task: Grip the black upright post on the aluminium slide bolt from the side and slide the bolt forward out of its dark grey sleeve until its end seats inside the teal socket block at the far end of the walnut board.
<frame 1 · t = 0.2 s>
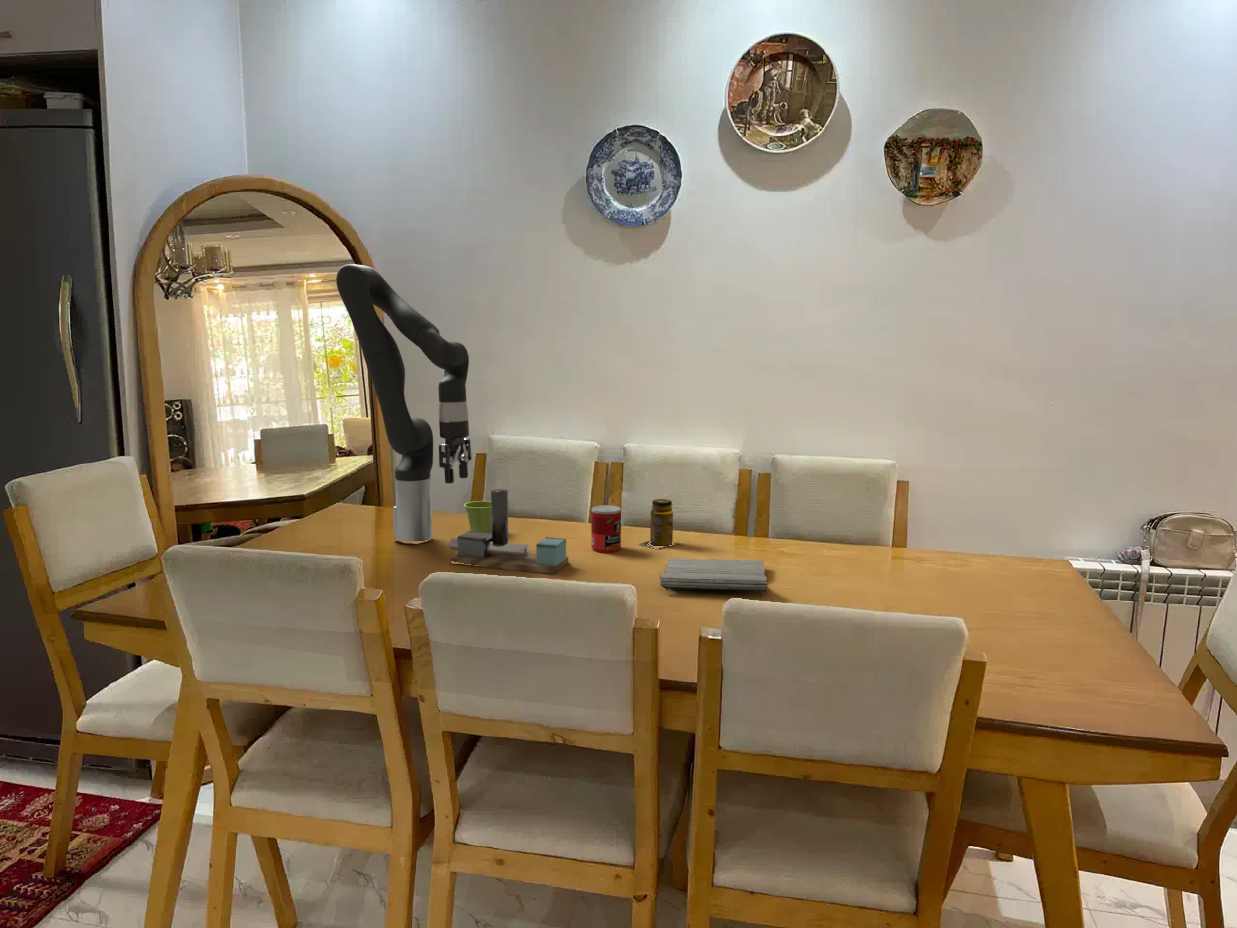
hand: (456, 480, 216), 17 cm above the table, tool pointing down, fingers open, 8 cm apart
slide bolt: (488, 522, 202), point 10 cm above the table, slide at 0.0 cm
condiment: (658, 545, 221), on the table
socket block: (551, 567, 199), resting on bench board
plant pot: (481, 535, 230), on the table
sleeve: (476, 560, 205), resting on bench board
canned food: (606, 549, 216), on the table
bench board: (509, 563, 202), on the table
mat: (714, 583, 190), on the table
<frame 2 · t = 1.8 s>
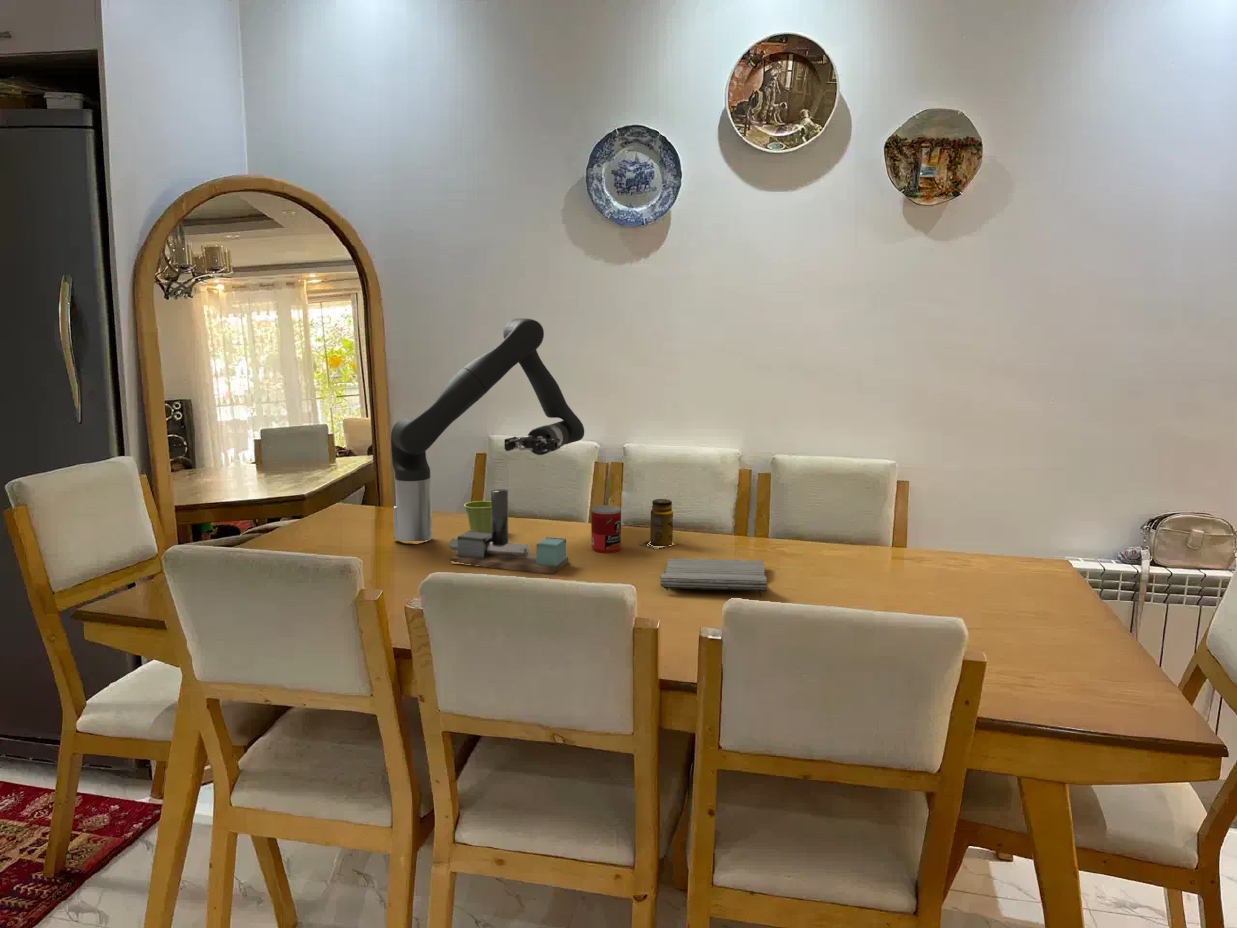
hand: (521, 447, 212), 27 cm above the table, tool horizontal, fingers open, 8 cm apart
nothing on the table moved.
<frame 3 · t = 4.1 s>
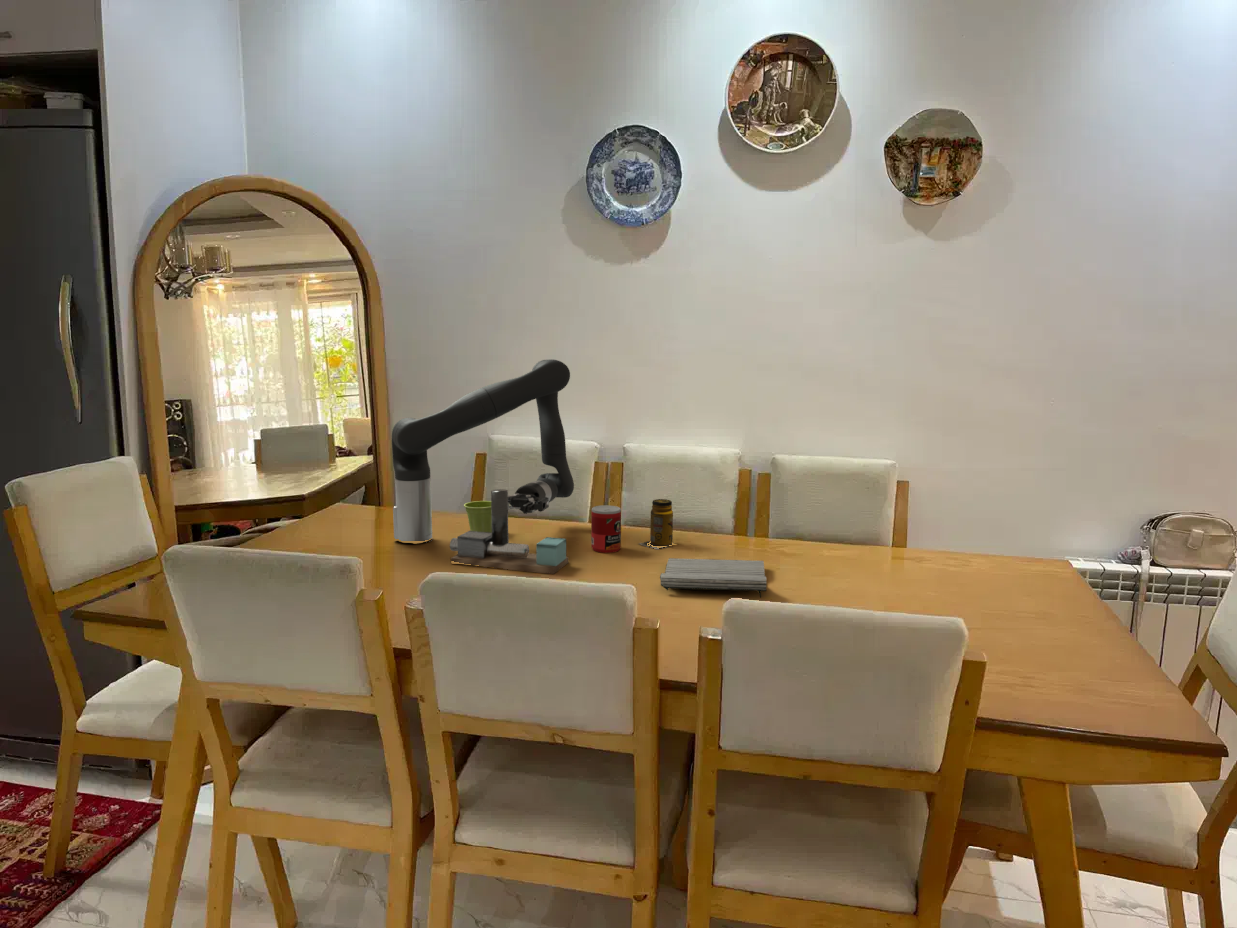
hand: (508, 508, 206), 13 cm above the table, tool horizontal, fingers open, 8 cm apart
nothing on the table moved.
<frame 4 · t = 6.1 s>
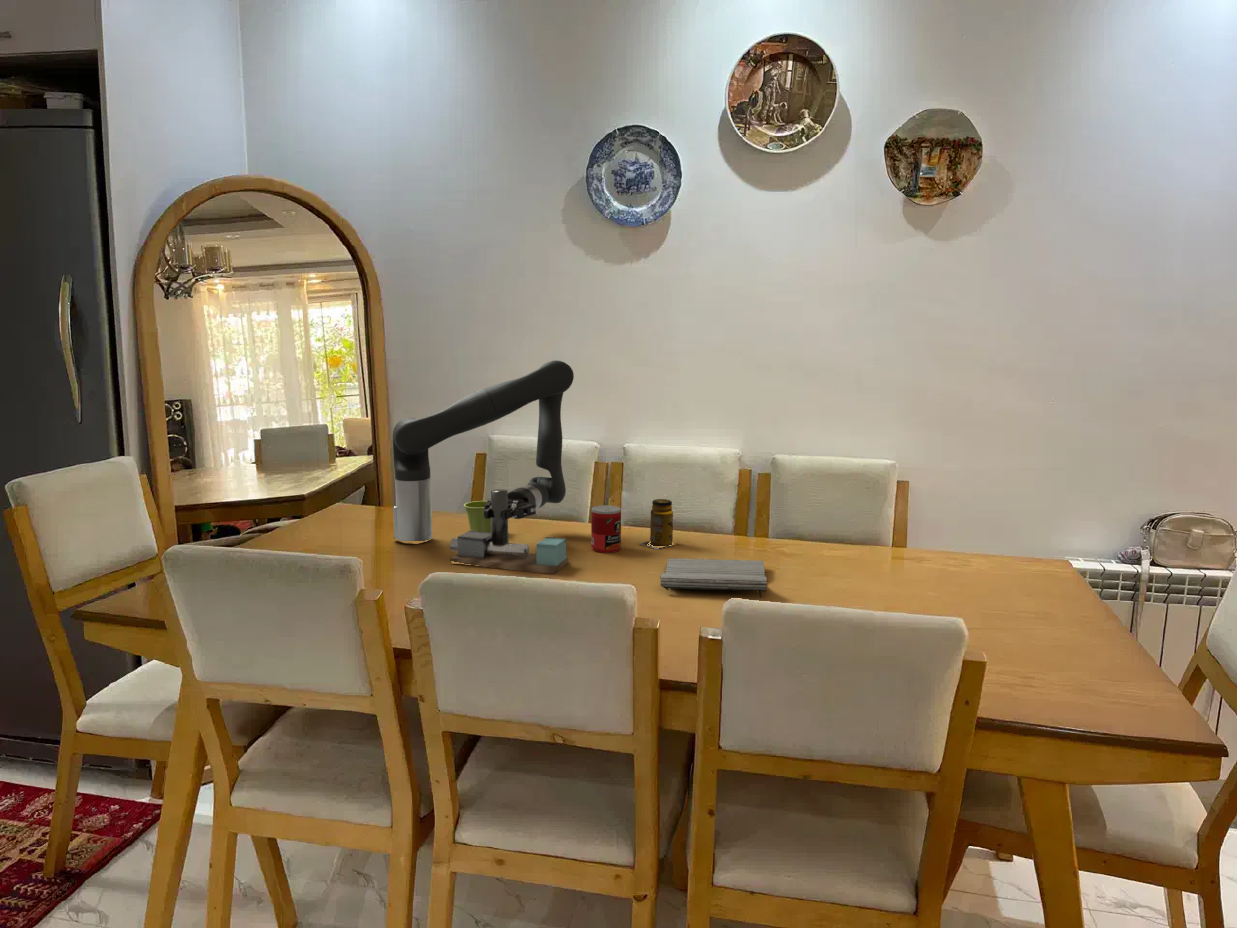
hand: (495, 515, 198), 12 cm above the table, tool horizontal, fingers closed on slide bolt, 4 cm apart
slide bolt: (488, 522, 202), point 10 cm above the table, slide at 0.0 cm, touching gripper
everything else where it was.
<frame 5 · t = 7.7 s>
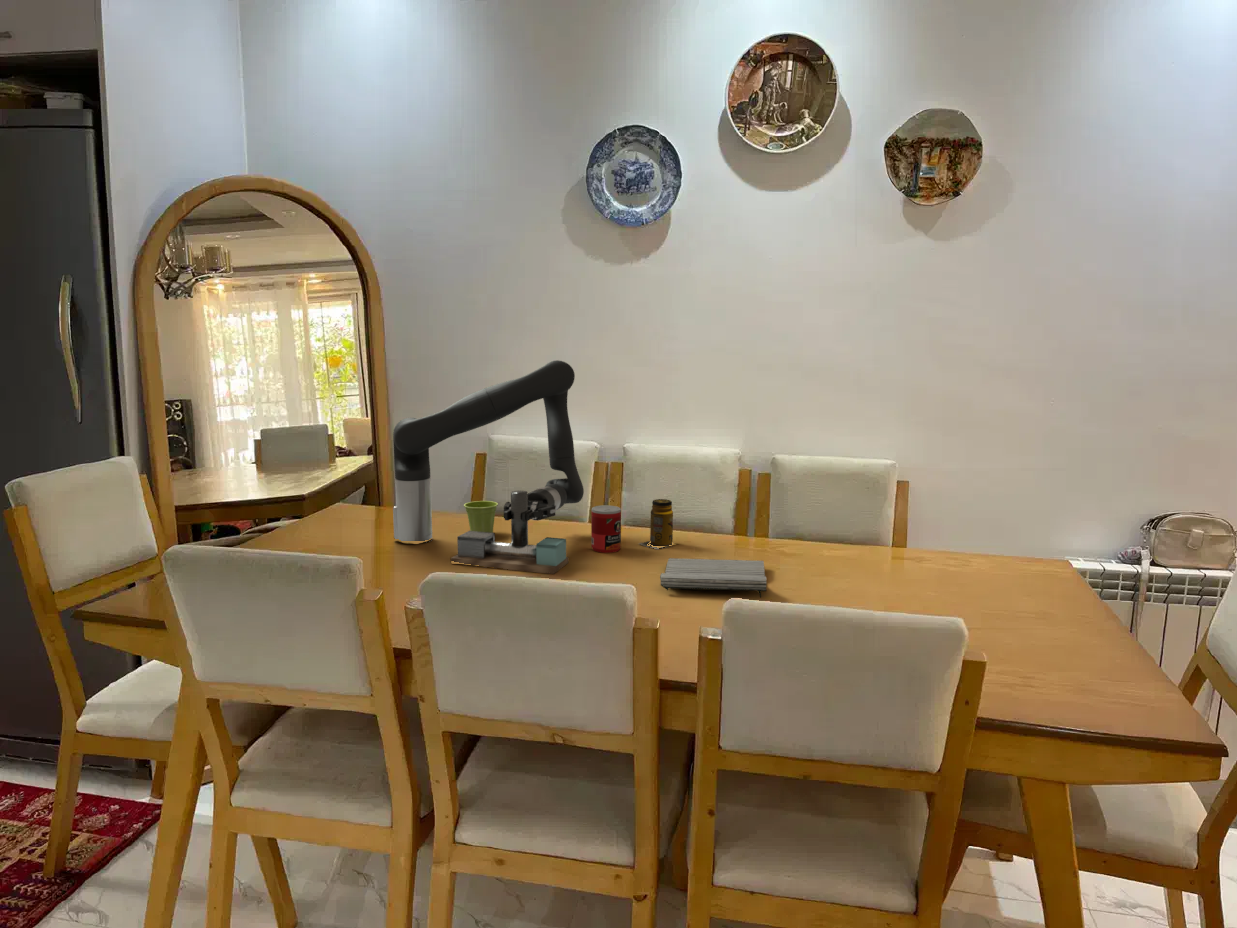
hand: (514, 516, 197), 13 cm above the table, tool horizontal, fingers closed on slide bolt, 4 cm apart
slide bolt: (508, 523, 201), point 10 cm above the table, slide at 5.2 cm, touching gripper
everything else where it was.
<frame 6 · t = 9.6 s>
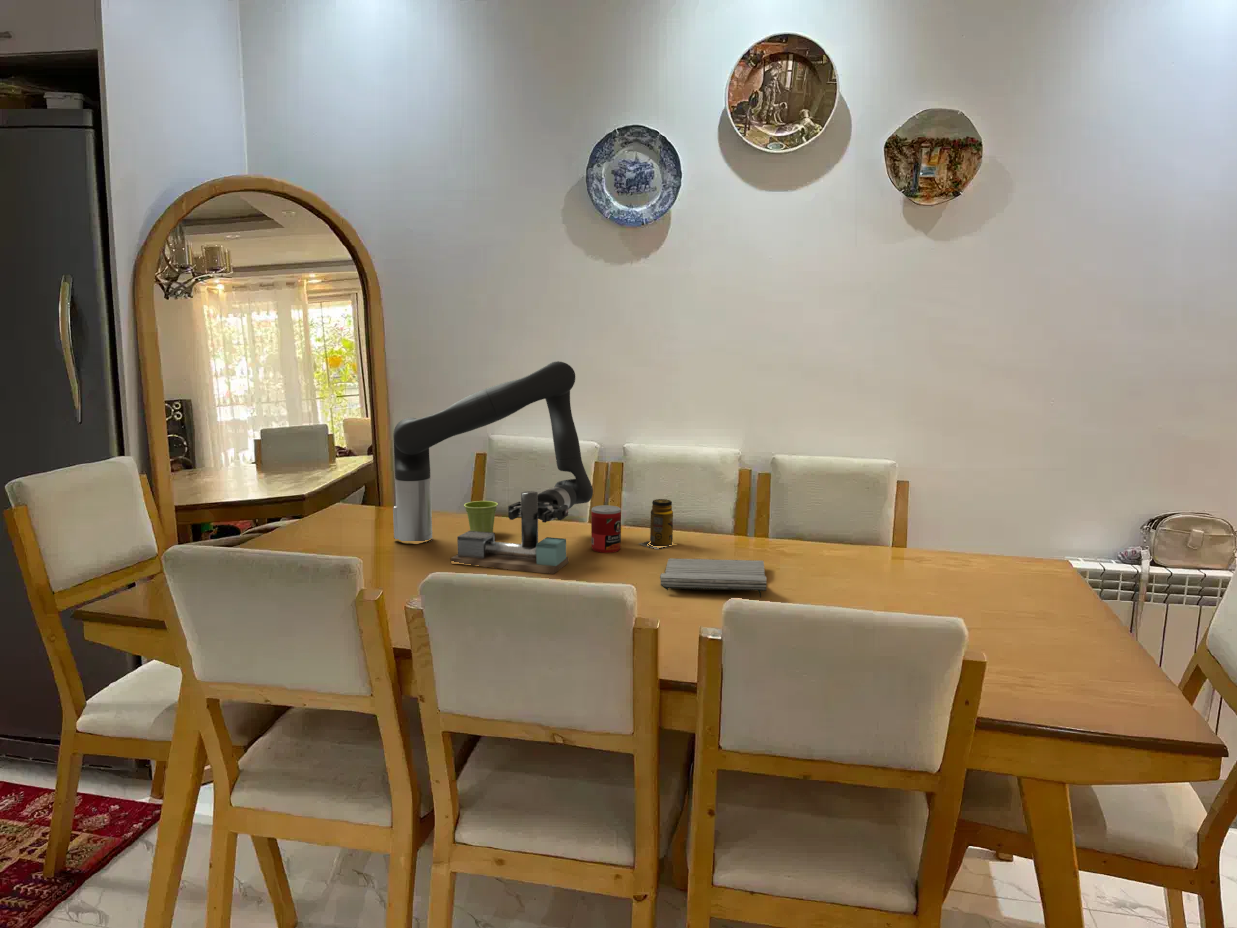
hand: (526, 517, 197), 12 cm above the table, tool horizontal, fingers open, 8 cm apart
slide bolt: (518, 524, 200), point 10 cm above the table, slide at 7.9 cm
everything else where it was.
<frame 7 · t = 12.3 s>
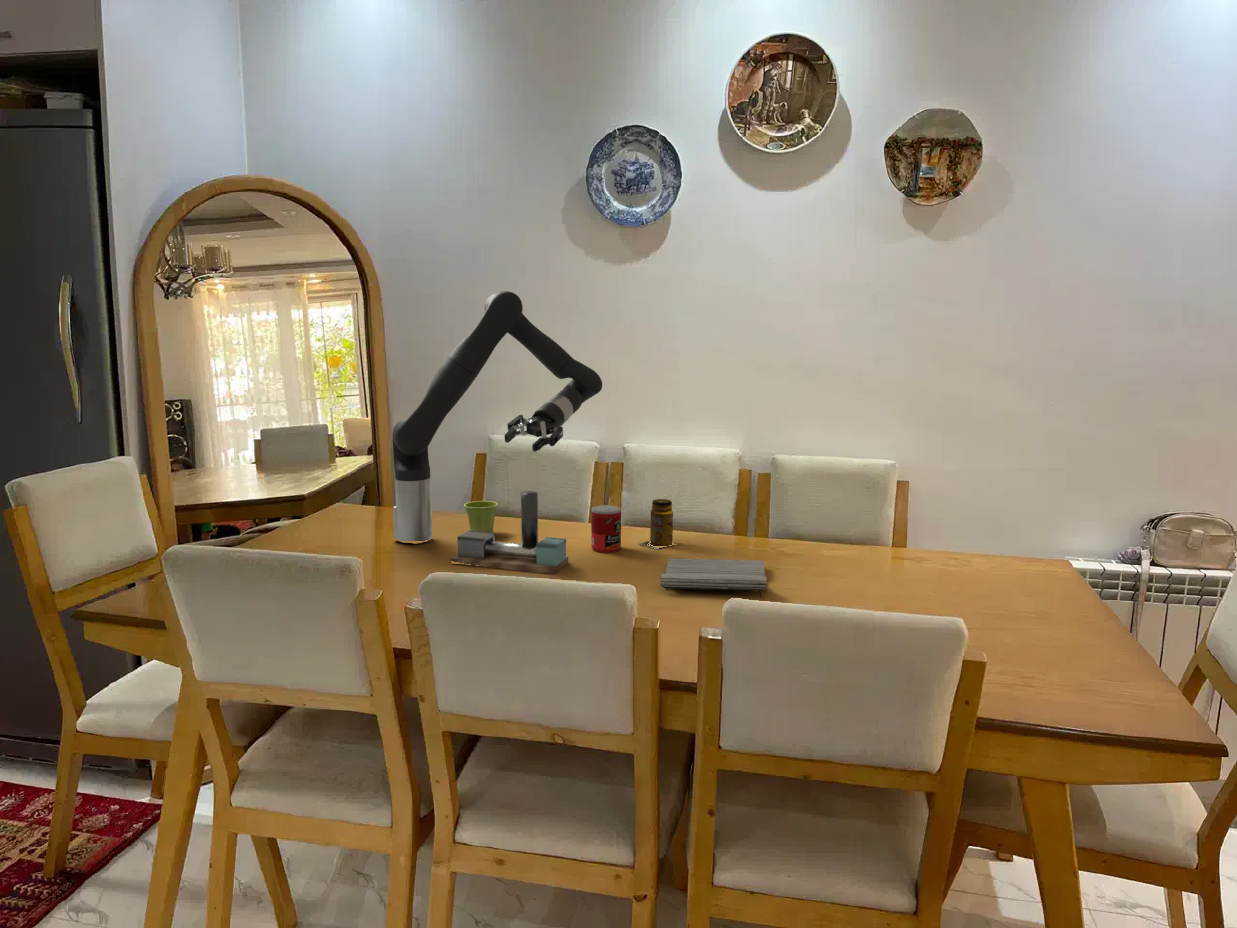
hand: (519, 444, 210), 28 cm above the table, tool tilted 65°, fingers open, 8 cm apart
nothing on the table moved.
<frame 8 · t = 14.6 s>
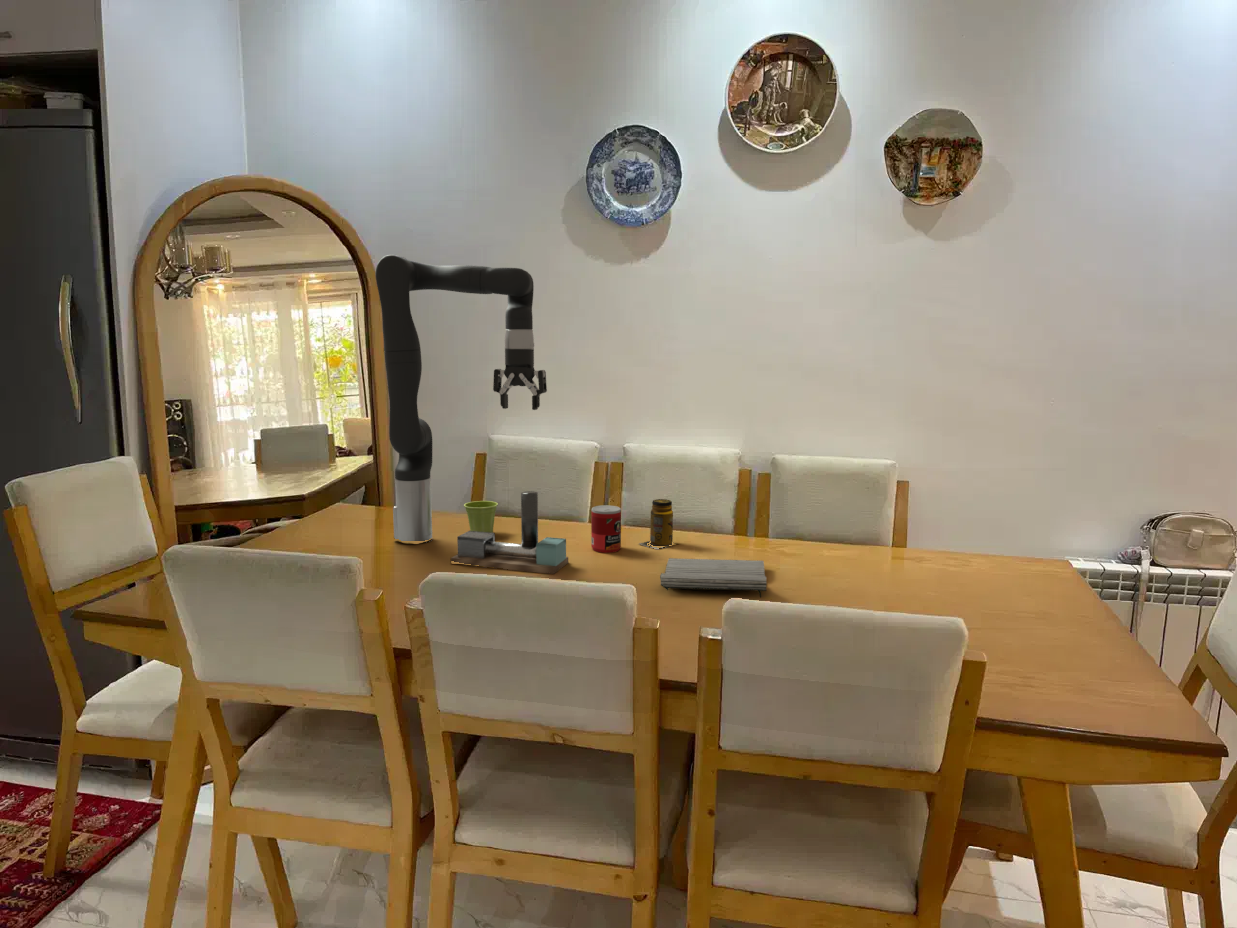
hand: (520, 409, 217), 36 cm above the table, tool pointing down, fingers open, 8 cm apart
nothing on the table moved.
at the end: slide bolt slide at 7.9 cm; the gripper is holding nothing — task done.
